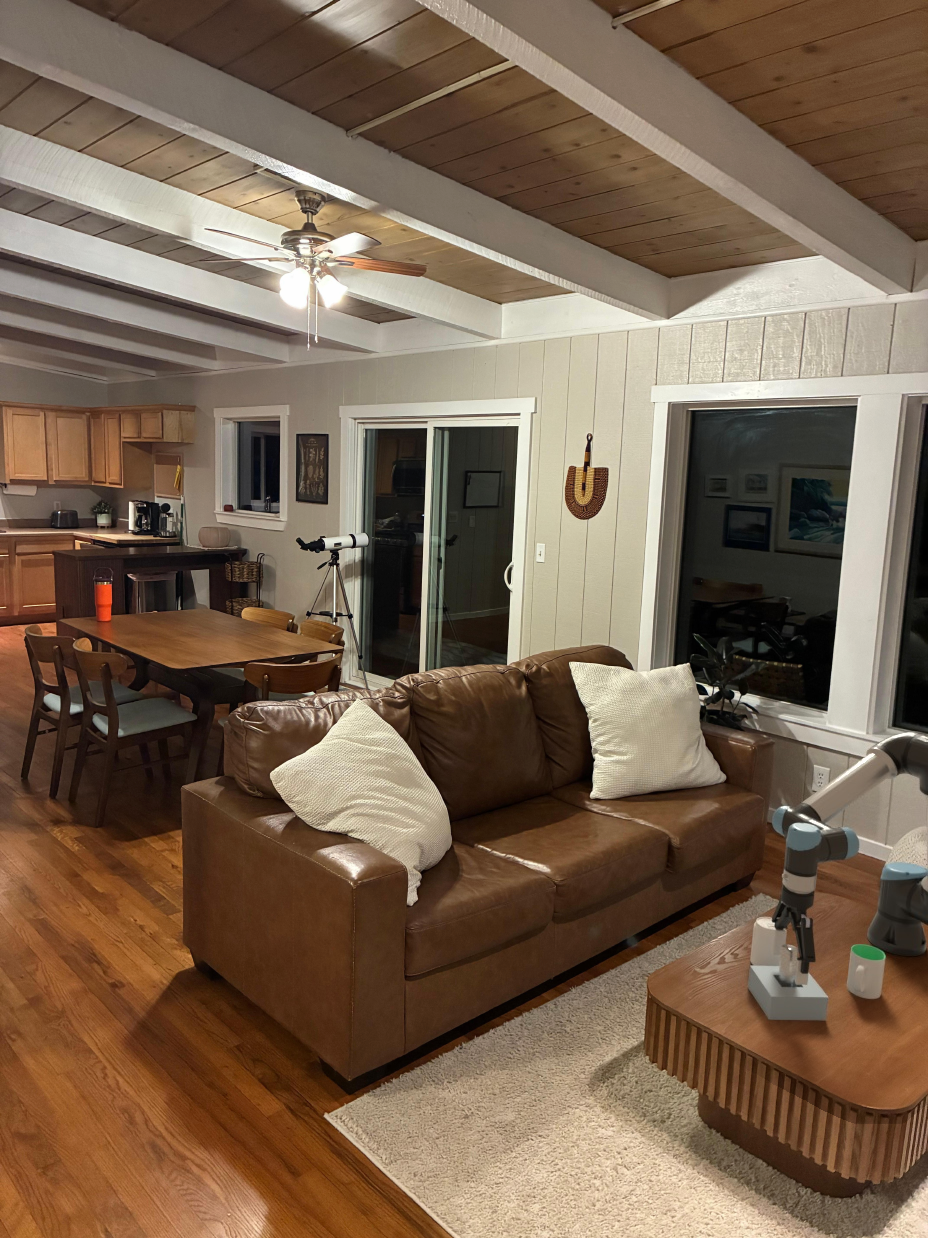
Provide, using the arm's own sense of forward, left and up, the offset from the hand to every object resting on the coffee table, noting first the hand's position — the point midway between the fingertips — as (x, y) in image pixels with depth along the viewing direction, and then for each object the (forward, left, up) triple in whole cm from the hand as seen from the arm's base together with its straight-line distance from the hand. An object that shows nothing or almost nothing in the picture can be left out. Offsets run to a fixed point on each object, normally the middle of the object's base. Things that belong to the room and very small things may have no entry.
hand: (789, 969), depth 224 cm
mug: (-22, -5, -9) cm, 24 cm away
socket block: (0, 0, -9) cm, 9 cm away
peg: (0, 0, -9) cm, 9 cm away
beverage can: (-2, -18, -9) cm, 20 cm away
